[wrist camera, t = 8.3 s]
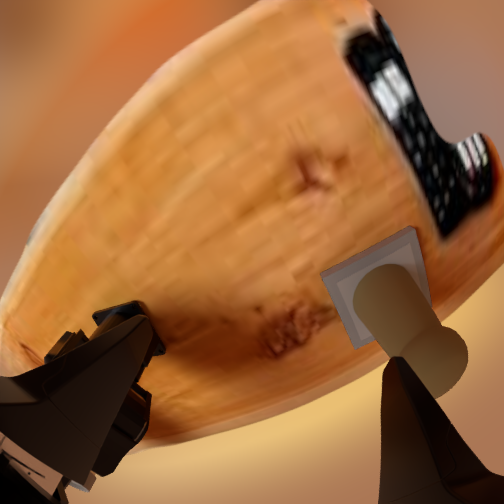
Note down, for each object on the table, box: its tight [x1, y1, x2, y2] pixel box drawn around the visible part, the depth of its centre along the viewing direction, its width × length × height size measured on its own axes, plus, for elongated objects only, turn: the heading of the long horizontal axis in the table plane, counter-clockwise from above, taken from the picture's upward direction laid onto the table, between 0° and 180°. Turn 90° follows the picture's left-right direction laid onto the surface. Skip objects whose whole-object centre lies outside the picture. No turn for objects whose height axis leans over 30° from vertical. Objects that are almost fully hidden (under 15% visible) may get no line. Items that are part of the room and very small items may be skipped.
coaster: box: [320, 226, 432, 350], centre depth 22 cm, size 9×9×1 cm
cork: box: [352, 264, 468, 399], centre depth 16 cm, size 6×6×11 cm
